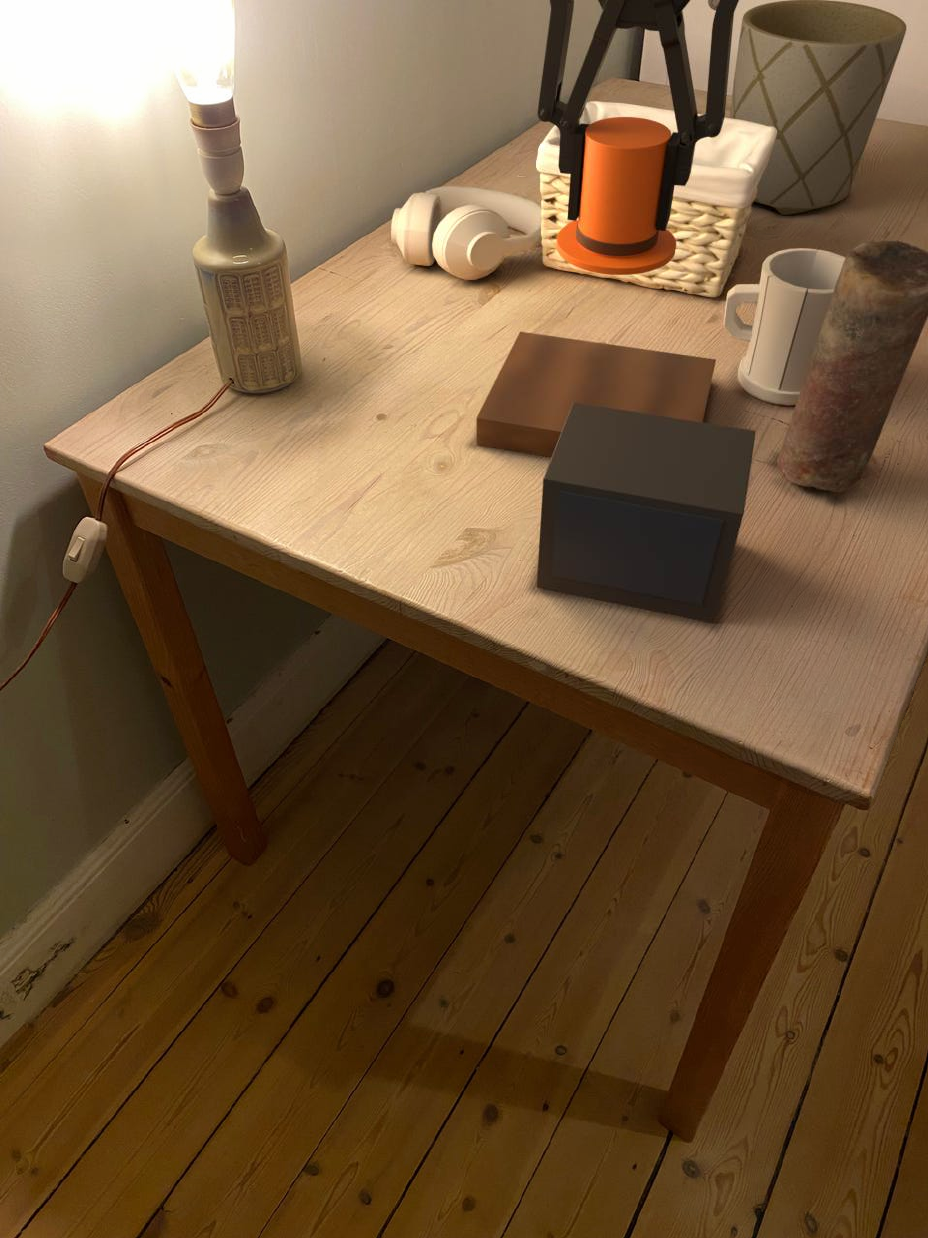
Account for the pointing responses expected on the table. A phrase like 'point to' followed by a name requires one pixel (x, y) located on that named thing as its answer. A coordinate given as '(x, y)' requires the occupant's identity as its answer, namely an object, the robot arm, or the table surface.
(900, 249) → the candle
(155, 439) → the table surface
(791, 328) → the cup
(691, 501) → the television
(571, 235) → the hat
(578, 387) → the brown wooden board
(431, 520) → the table surface
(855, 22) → the planter
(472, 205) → the headphones
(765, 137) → the basket
